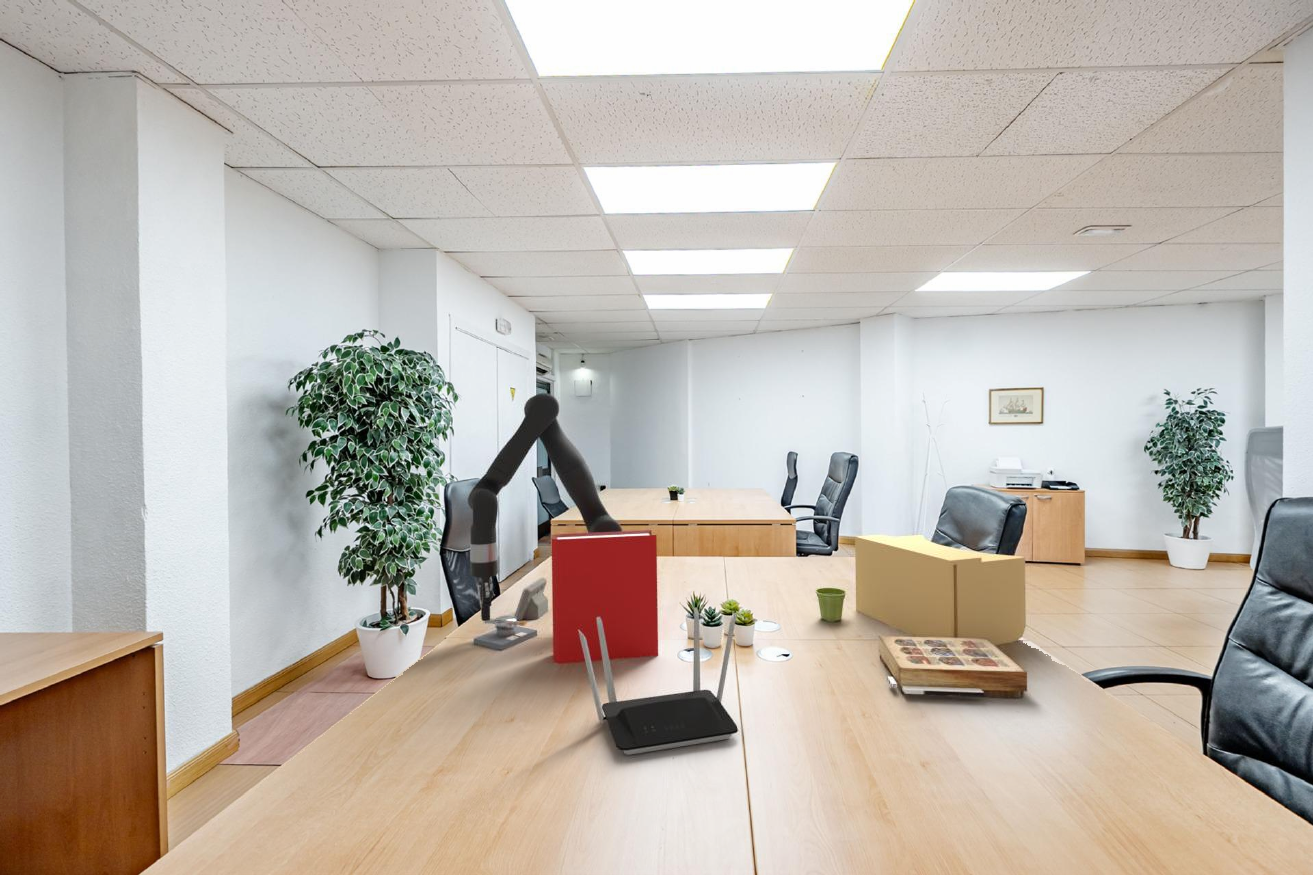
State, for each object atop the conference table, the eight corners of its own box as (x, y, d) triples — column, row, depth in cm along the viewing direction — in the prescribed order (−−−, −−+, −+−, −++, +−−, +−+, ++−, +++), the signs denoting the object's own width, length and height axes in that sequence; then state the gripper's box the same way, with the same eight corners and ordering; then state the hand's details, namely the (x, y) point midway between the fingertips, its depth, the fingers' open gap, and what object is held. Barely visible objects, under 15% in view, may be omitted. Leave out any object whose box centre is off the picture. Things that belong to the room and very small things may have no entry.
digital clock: (534, 606, 206) (534, 575, 206) (557, 609, 202) (556, 577, 202) (505, 620, 191) (505, 587, 191) (529, 623, 187) (529, 589, 187)
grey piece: (520, 630, 168) (519, 601, 168) (478, 627, 171) (478, 599, 171) (529, 623, 174) (529, 596, 174) (489, 620, 177) (489, 593, 177)
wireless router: (590, 765, 106) (588, 653, 106) (573, 708, 128) (571, 615, 128) (764, 737, 115) (763, 633, 115) (720, 688, 137) (719, 601, 137)
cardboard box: (856, 610, 196) (855, 536, 196) (920, 602, 204) (919, 531, 204) (951, 652, 158) (950, 560, 158) (1025, 640, 166) (1024, 553, 166)
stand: (537, 635, 176) (536, 622, 176) (501, 650, 164) (501, 636, 164) (509, 629, 182) (509, 617, 182) (473, 643, 170) (473, 630, 170)
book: (652, 645, 166) (651, 530, 166) (658, 655, 158) (656, 534, 158) (553, 653, 161) (551, 534, 161) (553, 664, 154) (551, 539, 153)
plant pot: (814, 622, 184) (814, 594, 184) (816, 613, 193) (815, 586, 193) (846, 624, 182) (846, 596, 182) (846, 615, 191) (846, 588, 191)
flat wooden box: (895, 702, 131) (1033, 707, 127) (894, 672, 131) (1033, 677, 127) (871, 660, 155) (986, 663, 151) (870, 635, 155) (986, 638, 151)
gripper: (501, 561, 165) (502, 624, 165) (494, 553, 177) (495, 612, 177) (472, 564, 162) (474, 628, 162) (467, 556, 174) (469, 615, 174)
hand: (485, 619), depth 170 cm, fingers closed
